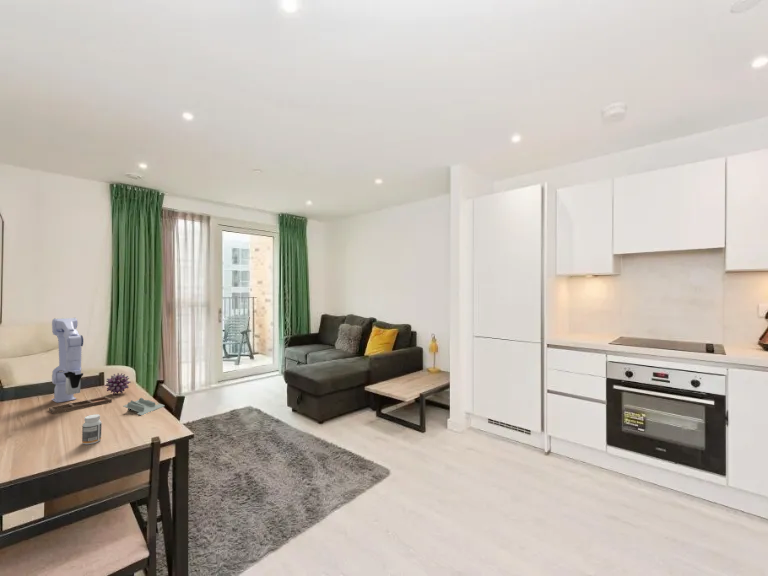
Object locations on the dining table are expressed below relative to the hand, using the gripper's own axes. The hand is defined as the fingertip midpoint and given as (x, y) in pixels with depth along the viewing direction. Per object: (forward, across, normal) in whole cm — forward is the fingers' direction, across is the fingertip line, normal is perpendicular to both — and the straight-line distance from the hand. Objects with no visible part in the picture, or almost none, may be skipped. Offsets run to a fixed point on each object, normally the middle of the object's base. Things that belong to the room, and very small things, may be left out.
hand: (73, 387), depth 177 cm
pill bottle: (+11, +58, -9) cm, 60 cm away
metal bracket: (+11, +32, +19) cm, 38 cm away
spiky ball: (+11, -11, +23) cm, 27 cm away
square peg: (+3, 0, 0) cm, 3 cm away
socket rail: (+10, 0, +4) cm, 11 cm away
